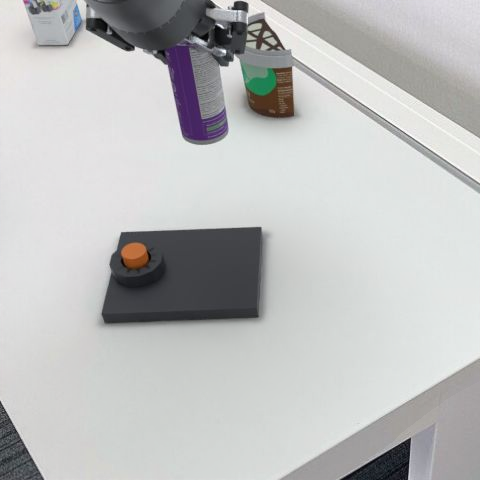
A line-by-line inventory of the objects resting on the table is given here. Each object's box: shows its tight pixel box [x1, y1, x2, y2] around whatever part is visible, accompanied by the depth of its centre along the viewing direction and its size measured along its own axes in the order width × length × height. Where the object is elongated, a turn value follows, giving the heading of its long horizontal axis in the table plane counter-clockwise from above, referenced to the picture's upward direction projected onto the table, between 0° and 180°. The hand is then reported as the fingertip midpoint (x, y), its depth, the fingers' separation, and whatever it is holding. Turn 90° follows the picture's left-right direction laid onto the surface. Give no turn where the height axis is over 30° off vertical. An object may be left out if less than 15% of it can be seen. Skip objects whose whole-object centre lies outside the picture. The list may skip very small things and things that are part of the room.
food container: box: [234, 11, 295, 118], centre depth 103 cm, size 12×6×10 cm, turn 22°
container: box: [164, 44, 229, 146], centre depth 71 cm, size 5×5×15 cm
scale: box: [100, 226, 264, 324], centre depth 83 cm, size 16×13×3 cm
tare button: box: [121, 243, 149, 269], centre depth 81 cm, size 3×3×2 cm
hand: (197, 54), depth 72 cm, fingers closed on container, 4 cm apart
